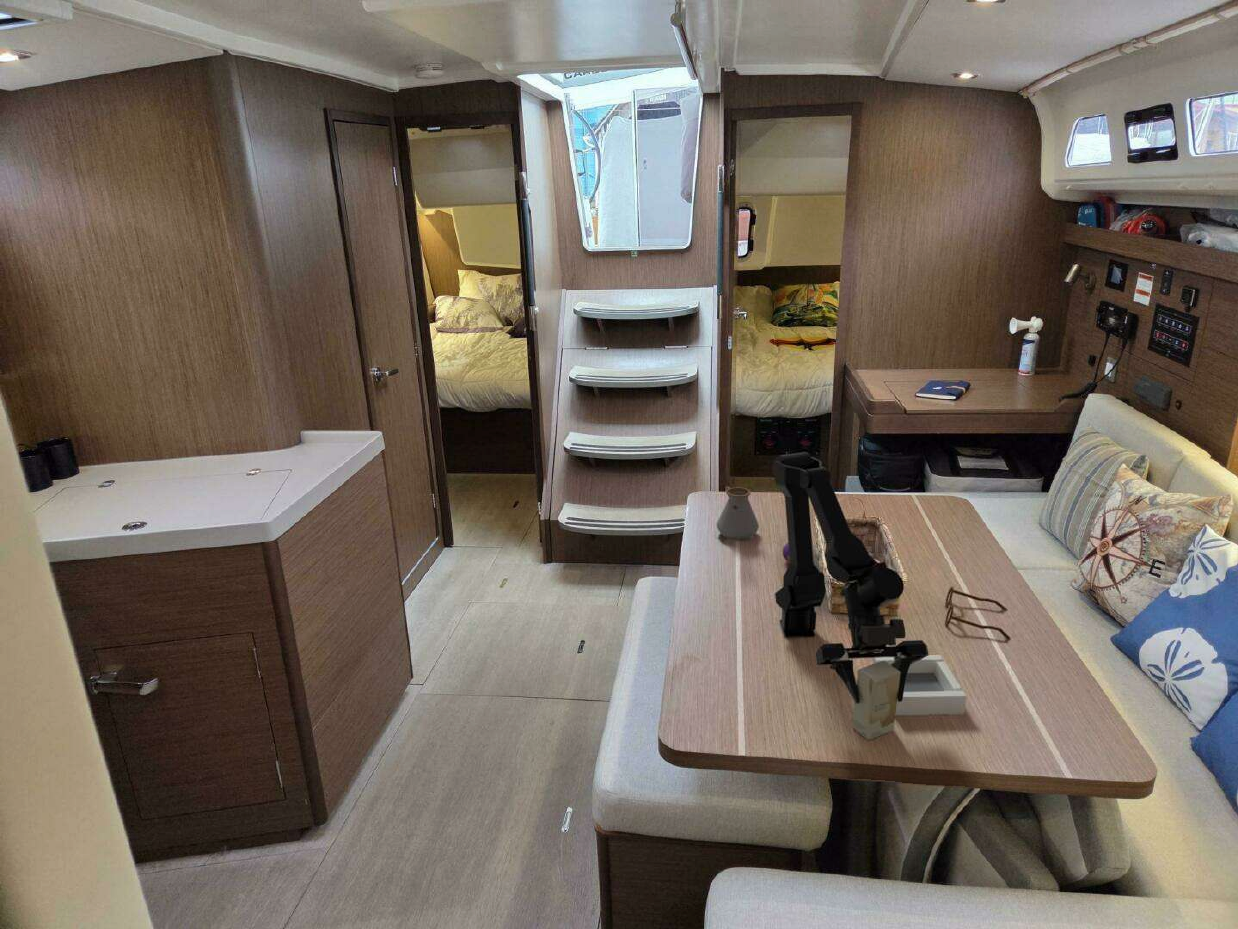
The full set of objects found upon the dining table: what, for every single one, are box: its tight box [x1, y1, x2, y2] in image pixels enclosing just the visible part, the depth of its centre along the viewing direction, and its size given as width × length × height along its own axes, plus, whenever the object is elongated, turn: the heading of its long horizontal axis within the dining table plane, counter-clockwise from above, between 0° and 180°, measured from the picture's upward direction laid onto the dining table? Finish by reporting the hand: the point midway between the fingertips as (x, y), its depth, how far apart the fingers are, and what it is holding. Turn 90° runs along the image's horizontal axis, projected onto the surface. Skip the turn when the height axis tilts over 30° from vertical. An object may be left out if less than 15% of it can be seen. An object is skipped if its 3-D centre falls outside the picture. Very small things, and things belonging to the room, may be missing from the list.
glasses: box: [944, 586, 1012, 640], centre depth 176 cm, size 13×13×5 cm
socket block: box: [872, 654, 967, 716], centre depth 152 cm, size 13×13×4 cm
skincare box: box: [851, 661, 901, 740], centre depth 141 cm, size 6×4×12 cm
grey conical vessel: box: [716, 486, 760, 542], centre depth 213 cm, size 21×12×15 cm, turn 168°
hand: (879, 702), depth 140 cm, fingers closed on skincare box, 7 cm apart
